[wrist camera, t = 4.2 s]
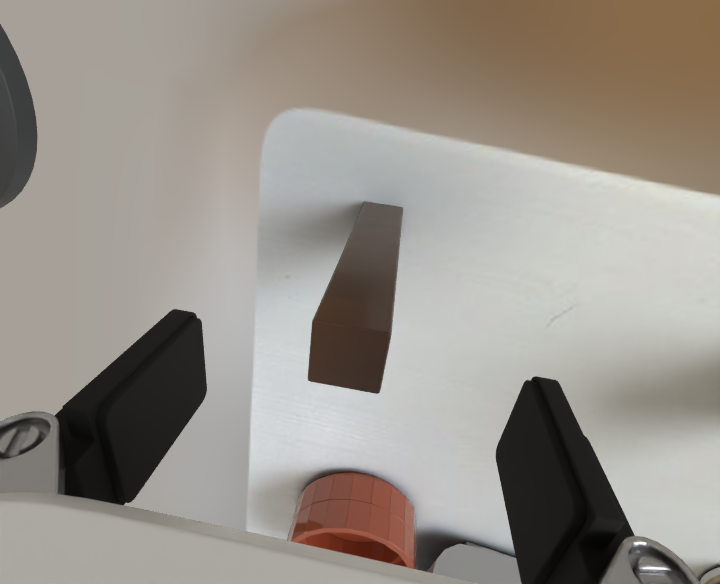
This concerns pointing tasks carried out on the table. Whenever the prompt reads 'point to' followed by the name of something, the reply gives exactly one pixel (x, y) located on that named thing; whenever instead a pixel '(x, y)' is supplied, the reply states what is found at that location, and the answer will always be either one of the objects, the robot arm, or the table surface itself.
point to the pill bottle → (711, 577)
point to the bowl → (357, 518)
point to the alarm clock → (476, 565)
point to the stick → (359, 305)
